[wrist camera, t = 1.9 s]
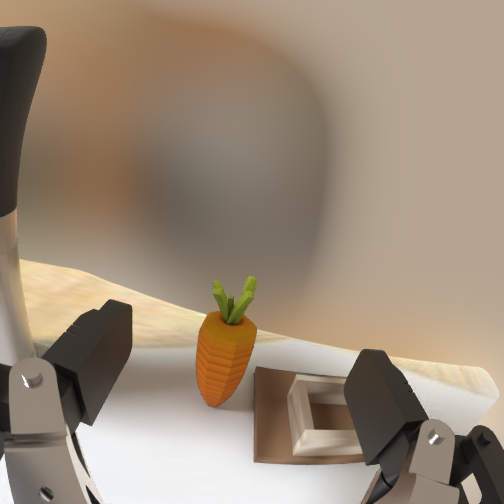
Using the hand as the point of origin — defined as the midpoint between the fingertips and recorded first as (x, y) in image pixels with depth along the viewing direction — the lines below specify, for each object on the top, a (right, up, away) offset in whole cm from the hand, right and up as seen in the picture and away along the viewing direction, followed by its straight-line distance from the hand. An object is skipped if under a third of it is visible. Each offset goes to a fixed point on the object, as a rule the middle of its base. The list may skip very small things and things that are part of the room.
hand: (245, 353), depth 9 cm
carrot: (-4, -13, +17) cm, 22 cm away
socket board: (+7, -15, +18) cm, 24 cm away
